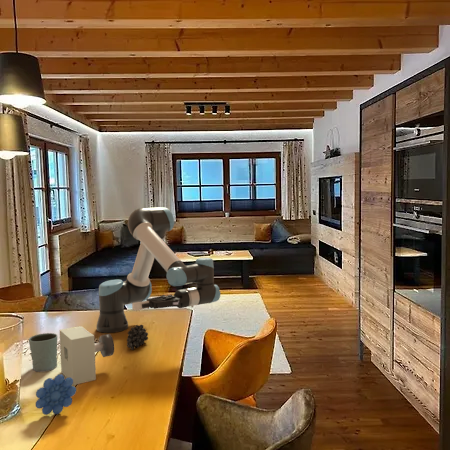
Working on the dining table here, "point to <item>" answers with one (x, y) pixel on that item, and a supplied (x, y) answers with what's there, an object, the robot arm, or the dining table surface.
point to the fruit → (136, 336)
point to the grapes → (55, 394)
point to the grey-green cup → (43, 351)
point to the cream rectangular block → (77, 354)
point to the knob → (105, 345)
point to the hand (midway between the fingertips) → (133, 306)
